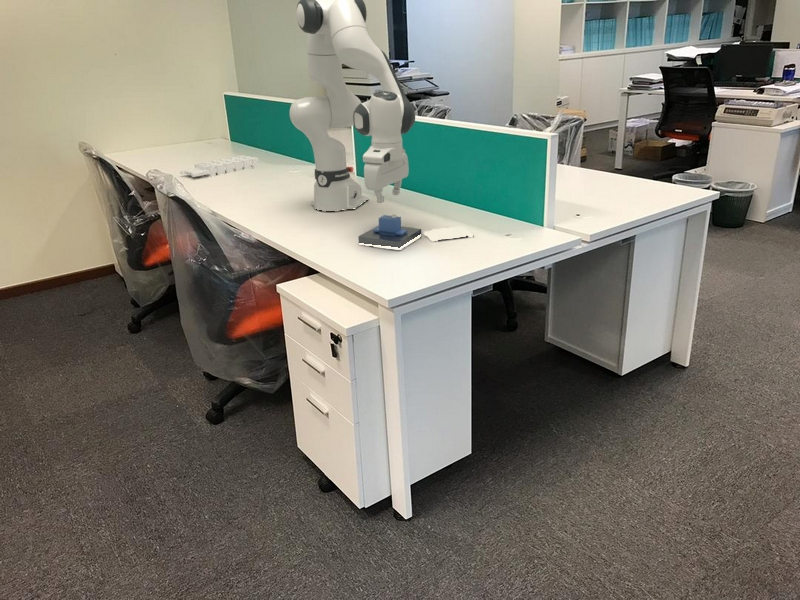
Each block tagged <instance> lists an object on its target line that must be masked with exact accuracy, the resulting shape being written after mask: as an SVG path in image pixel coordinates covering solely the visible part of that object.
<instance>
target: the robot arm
mask: <svg viewBox="0 0 800 600" xmlns="http://www.w3.org/2000/svg"><path fill="white" fill-rule="evenodd" d="M367 16H368V15H367V7H366V4H365V1H364V0H298V3H297V5H296V20H297V24H298V26H299V28H300V29H301V31H302V32H303V33H306V34H307V40H306V41H307V46H306V47H307V65H308V70H307V71H308V76H309V78H310V80H311V81H312V82H313V83H315V84H316V85H318V86H320V87H322V88H325V89H326V90H325V91H326V95H319V96H305V97H302V98H298V99H295V100H293V102H292V103H291V105H290V108H289V119H290V121H291V123H292V124H293V126H294V127H295V129H297V130H299V131H300V132H302V133H303V134H304V135H305V137H307V139H308V140H309V142H310V144H311V146H312V151H313V156H314V165H315V167H314V173H313V174H314V179H315V182H314V183H313V184H314V185H313V201H311V202H312V204H311V206H313V207H314V210H316V209H317V210H316V211H319V210H322V211H321V212H326V211H335V212H338V211H337V210H342V209H353V208H356V207H358V206H359V205H360V204H361V203H363V202H364V201H366V200H367V199H369V197H368V196H365V195H363V192H362V187H361V185H360V184H359V183H358V182H357V181H355V180H354V179H353V178H352V177H351V174H350V173H353V172H354V167H353V166H347V153H346V148H345V145H344V144H343V142H341V141H340V140H338V139H336V138H334V137H332V136H330V135H329V131H328V130H330V129H341V128H343V129H344V128H349V127H354V129H355V131H357V132H358V133H359V134H360V135H361V136H366V137H371V143H370V144H371V145H370V146H369V147H368V149H367V150H366V151H365V152H364V154H363V155H362V161H363V163H364V167H363V175H364V176H363V177H364V187H365V188H366V190H368V191H373V194H374V195H375V196H376V203H378V204H382V203H384V202H385V196H384V195H383V188H384V189H385V188H386V187H388V186H389V185H393V184H394V185H393V188H392V189H391V190H392V195H393V196H398V195H400V194H401V186H402V183H403V179H405V178H407V177H408V176H409V172H410V171H409V170H410V169H409V159H408V155H407V153H406V150H405V148H404V147H403V138H402V137H403V136H402V135H405V134H407V133H408V132H410V130H411V129H412V127H413V126H414V124H415V122H416V112H415V109H414V107H413V104H412V103H411V102H410V100H409V99H408V98H407V97H408V96H407V95H406V93H405V92H404V90H403V87H402V84H401V83H400V81H399V79H398V76H397V74H396V72H395V70H394V67H393V66H392V64H391V61H390V60H389V58H388V56H387V55H386V53H385V52H384V51H383V50H382V49H381V48H379V47H378V46H377V45H376V44H375V43H374V41H373V40H372V38H371V36H370V34H369V31H368V29H367V24H366V21H367ZM342 65H345V66H347V67H348V68H350V69H354V70H358V71H362V72H365V73H367V74H369V75H371V76H373V77H375V79H377V80H378V82H379V83H380V85H381V88H382V90H379V91H375V92H373V93H372V94H371V97H370V99H368V100H366V101H365V102H364V101H363V102H362V101H361V100H360V98H359V97H358V96H356V95H355V94H354V93H353V92H352V91H351V90H350V89H349V87H348V86H347V84H346V82H345V79H344V75H343V66H342ZM358 208H359V207H358Z"/></svg>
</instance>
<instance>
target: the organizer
mask: <svg viewBox="0 0 800 600" xmlns="http://www.w3.org/2000/svg"><path fill="white" fill-rule="evenodd" d="M251 167H252V168H251ZM255 167H258V168H260V161H259V157H256V156H249V155H237V156H231V157H225V158H220V159H214V160H210V161H204V162H202V163H201V162H198V163H194V168H190V169H183V170H180V173H179V174H180V175H188V176H191V177H192V178H195V177H201V176H204V175H206V176H205V177H209V176H210V177H209V178H212V176H214V177H217V176H218V175H219V176H221V175H220V174H224V175H226V174H227V173H229V174H231V173H230V172H234V171H238V172H241V171H240V170H243V169H248V170H251V169H256V168H255ZM250 168H251V169H250ZM243 171H244V170H243ZM234 173H235V172H234ZM216 174H217V175H216Z"/></svg>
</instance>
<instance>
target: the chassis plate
mask: <svg viewBox="0 0 800 600" xmlns="http://www.w3.org/2000/svg"><path fill="white" fill-rule="evenodd" d="M377 227H379V225H377V226H375V227H373V228H371V229H369V230H368V231H366V232H364V233H362V234H360V235H358V239H357V240H358V244H359V243H364V244H372V245H381V246H391V247H398V248H400V247H401V246H403V245H404V244H406V243H407V242H409V241H410V240H412V239H414V238H415V237H417V236H418V235H420V234H421V235H422V229H421V228H415V227H409V226H402V225H401V230H408V232H407V233H405V234H404V235H398V236H390V235H383V234H379V232H373V229H375V228H377Z"/></svg>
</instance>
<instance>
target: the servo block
mask: <svg viewBox="0 0 800 600" xmlns="http://www.w3.org/2000/svg"><path fill="white" fill-rule="evenodd" d="M378 226H379V227H377V226H376V227H377V228H375V227H374V228H375V229H373V228H372V229H373V232H379V234H383V235H390V236H398V235H404V234H405V233H407V232H408V230H401V226H402V217H401V216H397V214H391V215H390V214H389V215H387V214H384V215H382V216H380V217H378Z"/></svg>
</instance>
